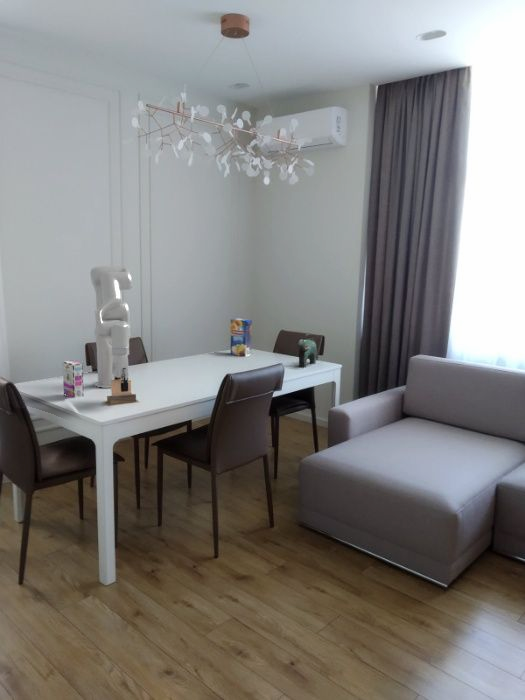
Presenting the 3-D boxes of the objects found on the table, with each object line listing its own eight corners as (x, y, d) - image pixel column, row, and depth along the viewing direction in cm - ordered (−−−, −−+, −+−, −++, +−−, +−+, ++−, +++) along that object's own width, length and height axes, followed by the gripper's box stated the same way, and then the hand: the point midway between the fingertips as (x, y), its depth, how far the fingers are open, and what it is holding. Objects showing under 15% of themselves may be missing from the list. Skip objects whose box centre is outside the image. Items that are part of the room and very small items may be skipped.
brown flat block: (103, 403, 245) (103, 394, 244) (134, 399, 252) (133, 390, 251) (108, 408, 238) (108, 398, 237) (139, 404, 245) (139, 394, 244)
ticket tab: (111, 401, 244) (111, 380, 242) (129, 399, 248) (128, 378, 246) (113, 403, 241) (113, 381, 240) (131, 401, 246) (130, 379, 244)
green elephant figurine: (304, 368, 331) (305, 335, 327) (294, 367, 334) (295, 334, 331) (318, 363, 347) (319, 332, 344) (309, 362, 351) (310, 331, 347)
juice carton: (251, 355, 371) (251, 319, 366) (245, 356, 364) (246, 320, 360) (236, 353, 376) (236, 318, 372) (230, 354, 370) (230, 319, 366)
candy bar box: (84, 398, 253) (83, 363, 250) (74, 400, 250) (72, 364, 247) (73, 393, 261) (72, 359, 258) (63, 395, 257) (61, 361, 255)
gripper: (106, 348, 246) (107, 386, 249) (117, 354, 232) (118, 394, 234) (122, 347, 250) (123, 384, 253) (135, 353, 235) (135, 392, 238)
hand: (121, 389), depth 244 cm, fingers open, 9 cm apart
